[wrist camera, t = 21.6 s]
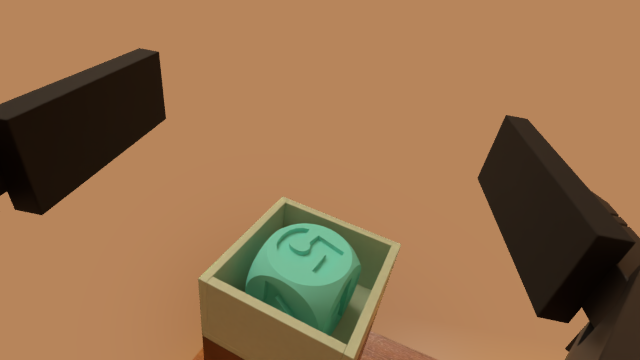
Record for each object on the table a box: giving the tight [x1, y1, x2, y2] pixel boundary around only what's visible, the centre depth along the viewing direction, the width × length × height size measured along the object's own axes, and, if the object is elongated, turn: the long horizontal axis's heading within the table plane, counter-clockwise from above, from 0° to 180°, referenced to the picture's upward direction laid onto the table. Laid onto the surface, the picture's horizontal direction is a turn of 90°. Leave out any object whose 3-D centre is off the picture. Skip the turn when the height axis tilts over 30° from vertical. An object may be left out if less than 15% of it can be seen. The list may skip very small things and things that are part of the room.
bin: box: [198, 197, 401, 360], centre depth 35 cm, size 14×14×8 cm
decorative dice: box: [245, 223, 361, 336], centre depth 34 cm, size 8×8×8 cm
